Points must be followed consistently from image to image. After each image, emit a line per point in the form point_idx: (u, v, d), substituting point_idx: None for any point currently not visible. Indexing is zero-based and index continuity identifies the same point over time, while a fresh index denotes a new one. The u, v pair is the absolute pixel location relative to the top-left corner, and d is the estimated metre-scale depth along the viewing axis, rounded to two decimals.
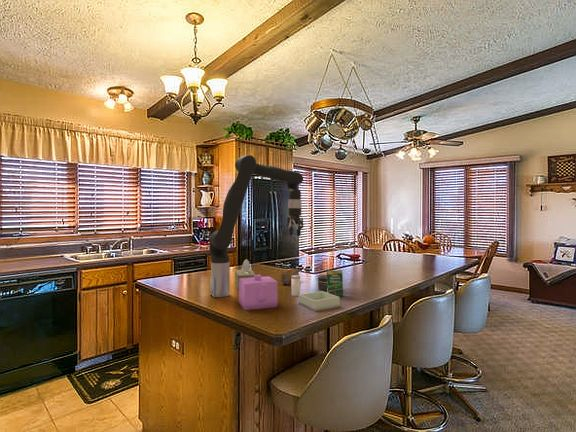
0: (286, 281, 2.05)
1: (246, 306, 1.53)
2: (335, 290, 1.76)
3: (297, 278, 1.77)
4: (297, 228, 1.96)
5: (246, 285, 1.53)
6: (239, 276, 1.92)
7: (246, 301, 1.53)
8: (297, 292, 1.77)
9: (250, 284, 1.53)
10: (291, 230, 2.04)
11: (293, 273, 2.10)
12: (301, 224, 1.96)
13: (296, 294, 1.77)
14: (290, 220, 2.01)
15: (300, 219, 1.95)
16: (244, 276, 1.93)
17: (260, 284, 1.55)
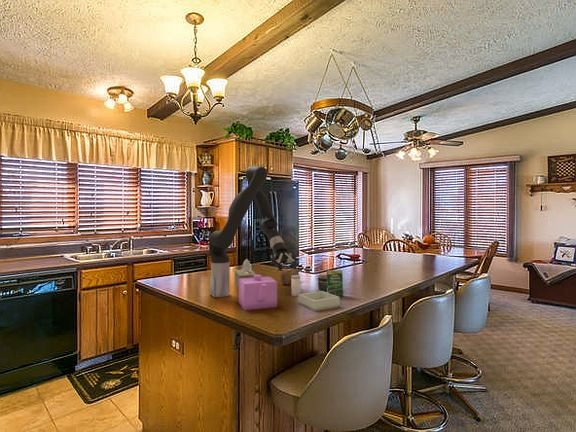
0: (286, 281, 2.05)
1: (246, 306, 1.53)
2: (335, 290, 1.76)
3: (297, 278, 1.77)
4: (294, 260, 1.90)
5: (246, 285, 1.53)
6: (240, 276, 1.92)
7: (246, 301, 1.53)
8: (297, 292, 1.77)
9: (250, 284, 1.53)
10: None
11: (293, 273, 2.10)
12: None
13: (296, 294, 1.77)
14: (281, 254, 1.89)
15: None
16: (245, 276, 1.93)
17: (260, 284, 1.55)
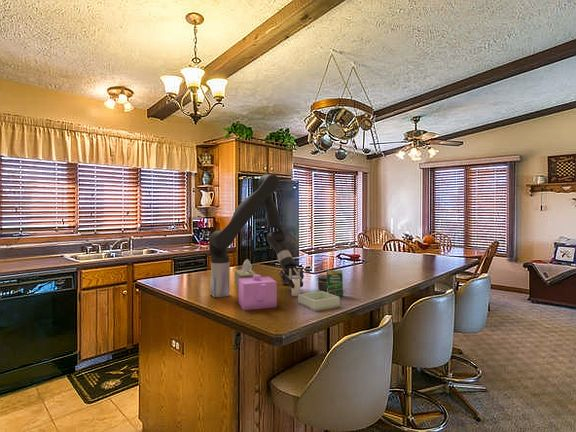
0: None
1: (245, 306, 1.53)
2: (335, 290, 1.76)
3: (297, 278, 1.77)
4: (300, 278, 1.81)
5: (245, 285, 1.53)
6: (241, 276, 1.92)
7: (245, 301, 1.53)
8: (297, 292, 1.77)
9: (249, 284, 1.53)
10: None
11: None
12: (300, 276, 1.85)
13: (296, 294, 1.77)
14: (290, 270, 1.81)
15: None
16: (246, 276, 1.93)
17: (259, 284, 1.55)
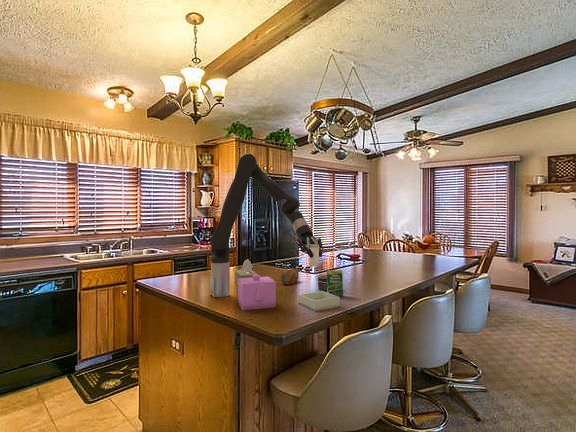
0: (286, 281, 2.05)
1: (244, 306, 1.53)
2: (335, 290, 1.76)
3: (316, 247, 1.62)
4: (319, 247, 1.66)
5: (244, 285, 1.53)
6: (242, 276, 1.92)
7: (244, 301, 1.53)
8: (316, 262, 1.62)
9: (248, 284, 1.53)
10: None
11: (293, 273, 2.10)
12: None
13: (315, 264, 1.62)
14: (307, 238, 1.66)
15: None
16: (247, 276, 1.93)
17: (258, 284, 1.55)
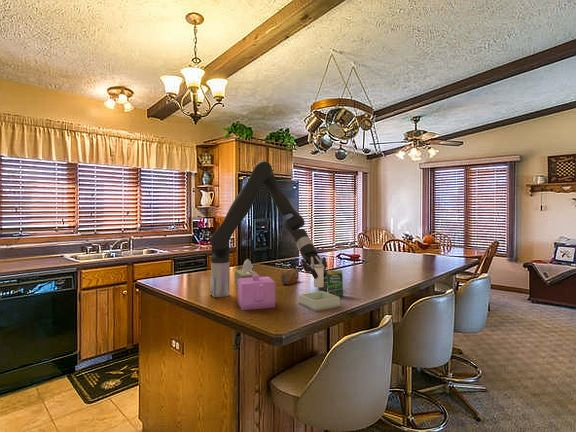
0: (286, 281, 2.05)
1: (243, 306, 1.53)
2: (335, 290, 1.76)
3: (320, 267, 1.57)
4: (324, 267, 1.61)
5: (243, 285, 1.53)
6: (242, 276, 1.92)
7: (243, 301, 1.53)
8: (320, 283, 1.58)
9: (247, 284, 1.53)
10: None
11: (293, 273, 2.10)
12: None
13: (319, 285, 1.57)
14: (311, 258, 1.62)
15: None
16: (247, 276, 1.93)
17: (257, 284, 1.55)
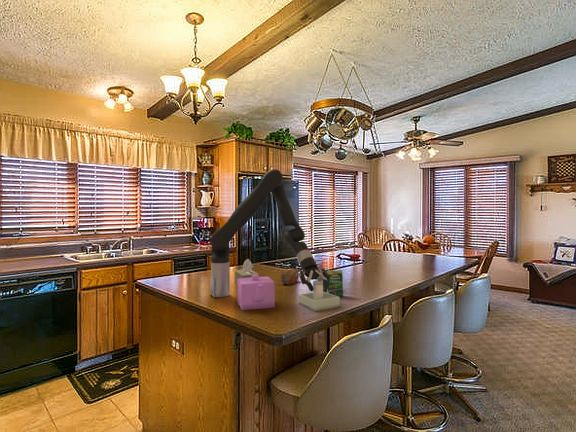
0: (286, 281, 2.05)
1: (243, 306, 1.53)
2: (335, 290, 1.76)
3: (320, 284, 1.58)
4: (326, 279, 1.63)
5: (243, 285, 1.53)
6: (243, 276, 1.92)
7: (243, 301, 1.53)
8: None
9: (247, 284, 1.53)
10: None
11: (293, 273, 2.10)
12: (324, 277, 1.66)
13: None
14: (311, 271, 1.62)
15: None
16: (248, 276, 1.93)
17: (257, 284, 1.54)
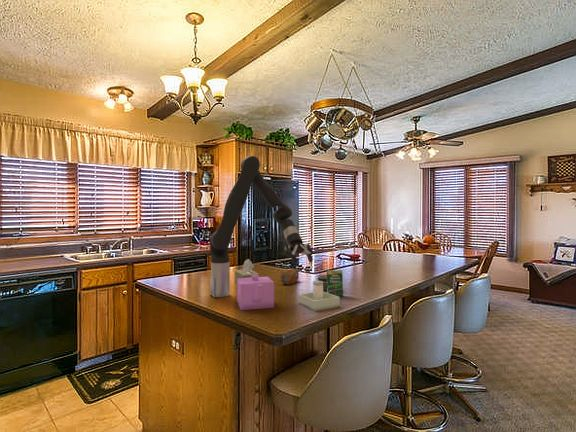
0: (286, 281, 2.05)
1: (242, 306, 1.53)
2: (335, 290, 1.76)
3: (320, 284, 1.58)
4: (310, 253, 1.74)
5: (242, 285, 1.53)
6: (244, 276, 1.92)
7: (242, 301, 1.53)
8: None
9: (246, 284, 1.53)
10: None
11: (293, 273, 2.10)
12: (308, 251, 1.77)
13: None
14: (296, 246, 1.73)
15: None
16: (249, 276, 1.93)
17: (256, 284, 1.54)
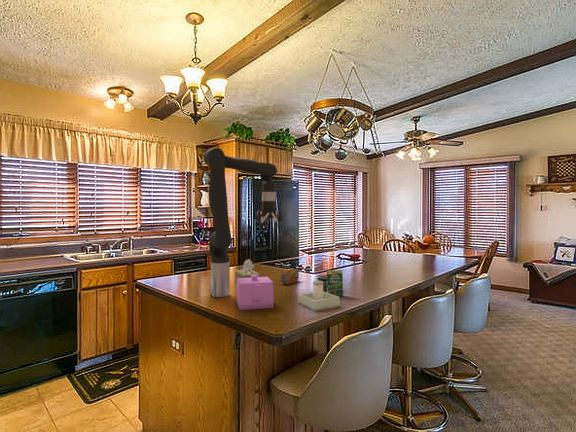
0: (286, 281, 2.05)
1: (241, 306, 1.53)
2: (335, 290, 1.76)
3: (320, 284, 1.58)
4: (277, 221, 1.94)
5: (241, 285, 1.53)
6: (244, 276, 1.92)
7: (241, 301, 1.53)
8: None
9: (245, 284, 1.53)
10: None
11: (293, 273, 2.10)
12: (277, 217, 1.96)
13: None
14: (267, 214, 1.90)
15: None
16: (249, 276, 1.93)
17: (255, 284, 1.54)
